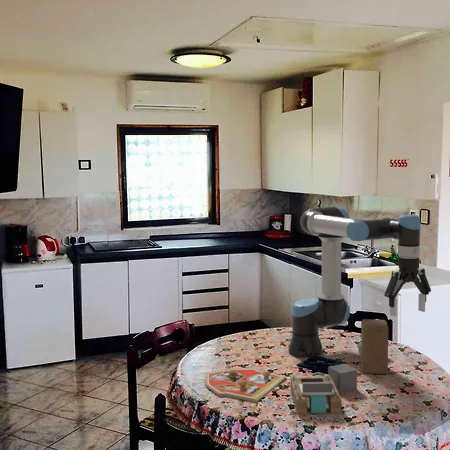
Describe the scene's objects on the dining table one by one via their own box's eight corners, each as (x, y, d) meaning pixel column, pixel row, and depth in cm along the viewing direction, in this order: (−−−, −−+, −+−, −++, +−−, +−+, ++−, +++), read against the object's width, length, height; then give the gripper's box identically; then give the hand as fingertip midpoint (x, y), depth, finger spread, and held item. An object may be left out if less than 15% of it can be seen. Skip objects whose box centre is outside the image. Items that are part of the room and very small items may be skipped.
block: (309, 406, 191) (309, 392, 191) (323, 406, 191) (323, 392, 190) (311, 412, 186) (311, 398, 186) (326, 412, 186) (326, 398, 185)
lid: (298, 387, 195) (298, 376, 195) (330, 386, 195) (330, 375, 194) (301, 395, 188) (301, 383, 188) (333, 394, 188) (333, 383, 187)
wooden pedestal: (290, 392, 205) (290, 375, 204) (331, 391, 204) (331, 374, 204) (296, 415, 186) (296, 396, 185) (341, 414, 185) (341, 395, 185)
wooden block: (387, 375, 219) (388, 326, 217) (361, 374, 221) (362, 325, 219) (385, 366, 229) (386, 319, 227) (360, 365, 231) (361, 318, 229)
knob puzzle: (256, 406, 195) (256, 393, 194) (186, 390, 209) (186, 379, 208) (288, 377, 220) (288, 366, 219) (223, 365, 234) (223, 355, 234)
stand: (328, 387, 208) (328, 366, 208) (344, 383, 211) (344, 363, 211) (340, 394, 202) (340, 373, 201) (356, 390, 205) (357, 369, 204)
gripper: (388, 261, 195) (388, 320, 197) (441, 255, 205) (440, 311, 207) (374, 258, 202) (374, 315, 204) (426, 252, 212) (425, 307, 214)
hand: (407, 313), depth 206 cm, fingers open, 13 cm apart
